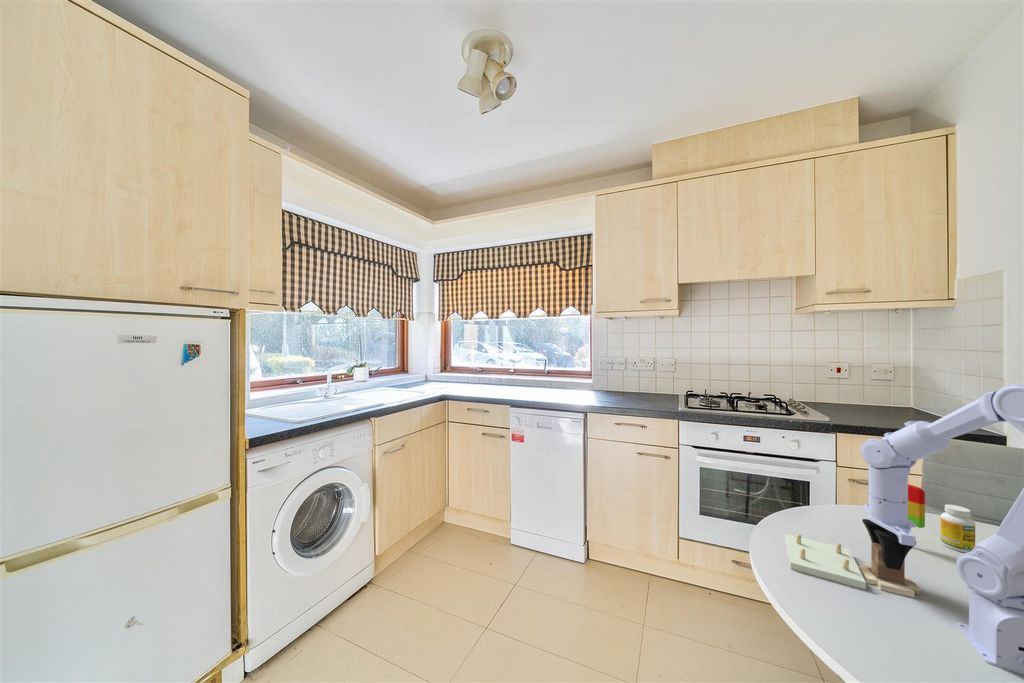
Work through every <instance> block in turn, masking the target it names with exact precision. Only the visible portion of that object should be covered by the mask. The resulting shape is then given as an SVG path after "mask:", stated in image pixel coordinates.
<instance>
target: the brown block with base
mask: <svg viewBox="0 0 1024 683" xmlns="http://www.w3.org/2000/svg"><path fill="white" fill-rule="evenodd" d="M870 542H871V549H870V550H871V551H870V552H871V553H870V555H871V564H870V563H864V562H863V565H858V564H857V566H858V568H859V570H860V572H861V574H862V576H863V578H864V580H865V582H866V584H869V585H873V586H874V585H875V586H877V587H878V588H879V590H880V591H884V592H889V593H892V594H898V595H901V596H906V597H911V598H915V595H919V596H921V595H922V589H921V588H920V587H919V586H918V585H917V584H916V583H915V582H914V580H912V578H911V577H910V576H909V575H906V574H905V567H906V566H905V565H906V564H905V560H906V558H905V559H904V562H903V565H902V567H901V569H900V570H896V569H891V568H887V567H886V566H885V564H884V561H883V554H882V548H881V545H880V544H879V543H874V542H872V541H870Z"/></svg>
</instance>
